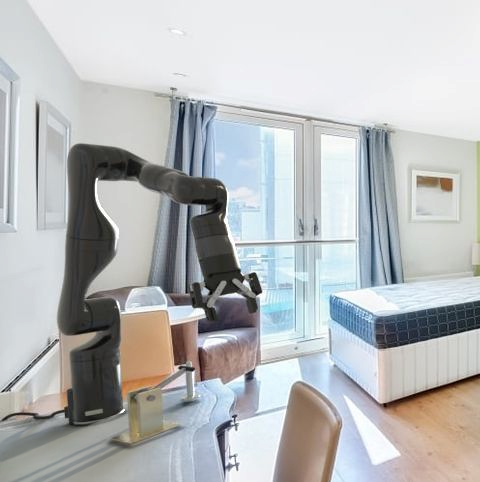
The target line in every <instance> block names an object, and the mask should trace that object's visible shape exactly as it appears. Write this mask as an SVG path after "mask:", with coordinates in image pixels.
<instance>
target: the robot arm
mask: <svg viewBox="0 0 480 482" xmlns="http://www.w3.org/2000/svg"><path fill="white" fill-rule="evenodd" d="M66 175H67V190H68V191H67V192H68V210H67V223H66V224H67V225H66V232H65V243H64V246H65V247H64V267H63V268H64V269H63V278H62V279H63V281H62V284H61V285H62V286H61V290H60V296H59V301H58V305H57V312H56V325H57V329H58V331H59V333H60V334H62V335H63V336H65V337H75V336H82V335H86V334H87V335H88V334H92V333H95V334H94V336H93V337H92V338H90V339H88V340H87V341H86V342H83V343H82V344H80V345H79V344H78V346H76V347H73V348H71V349H70V350H69V353H68V361H69V371H70V373H69V374H70V387H69V388H68V389H67V390H66V403H67V404H66V406H64V407H63V409H60V410H56V411H54V412H52V413H51V414H49V415H41V416H40V414H39V413H38V412H27V411H26V412H25V411H19V412H13V413H9V414H7V415H6V416H4V417H2V419H0V421H1V422H4V421H7V420H8V419H10V418H12V417H18V416H27V417H28V416H29V417H32V419H33V420H49V419H52V418H54V417H55V416H56V415H59V414H64V419H68V425H73V426H86V425H93V424H96V423H100V422H102V421H105V420H108V419H112V418H114V417H118V416H120V415H123V414H124V413H125V408H124V407H125V406H124V395H123V379H122V378H123V377H122V376H123V375H122V363H121V362H122V361H121V345H122V310H121V306H120V303H119V302H118V300H117V299H116V298H114V297H112V296H103V297H94V298H86V297H87V294H88V292H89V288H90V287H91V286H92V283H93V282H94V281H95V280H96V279H97V278H98V276H99V275H100V274H101V273H103V272H104V271H105V269H106V268H107V267H108V266H109V265H110V264H111V263H112V262H113V260H115V258H116V256H117V254H118V248H119V240H120V239H119V236H120V231H119V227H118V226H117V224H116V222H115V221H114V219H113V218H112V217H111V216H110V214H109V213H107V211H106V210H105V209H104V207H103V206H102V204H101V202H100V201H99V198H98V193H97V192H98V191H97V182H100V181H101V182H136V183H138V184H139V185H140V186H141V187H142V188H144V189H146V190H148V191H149V192H152V193H155V194H159V195H161V196H166V197H167V198H168V199H170V200H172V201H173V202H175V203H177V204H180V205H185V206H204V212H203V213H200V214H196V215H194V216H192V217H190V220H189V225H190V229H191V233H192V236H193V240H194V248H195V253H196V257H197V261H198V264H199V268H200V272H201V275H202V277H203V281H201V282H198V281H195V282H191V283H190V284H188V286H187V287H188V292H189V297H190V298H189V299H190V303H191V307H192V308H193V309H201V310H203V311H204V315H205V319H206V321H207V322H208V323H210V324H211V325H212V324H216V323H219V318H218V314H217V311H216V307H214V305H215V303H216V301H217V300H218V299H219V297H223V296H226V295H232V294H233V295H234V294H237V295H240V296H241V297H243V298H244V299H246V300H245V303H246V307H247V308H246V309H247V311H248V314H250V315H251V314H256V313H257V311H258V309H259V306H258V303H257V299H256V298H257V296H259V295H262V294H263V288H262V285H261V283H260V280H259V276H258V273H257V272H255V271H252V272H250V273H247V274H243V273H242V267H241V264H240V263H241V262H240V261H239V259H240V258H239V256H238V253H237V248H236V245H235V242H234V240H233V237H232V235H231V231H230V227H229V224H228V219H227V218H228V217H227V216H228V205H229V204H228V203H229V191H228V188H227V186H226V185H225V183H224V182H223V181H222V180H220V179H218V178H215V177H206V176H190V175H189V174H187V172H184V171H181V170H179V169H175V168H172V167H169V166H166V165H161V164H158V163H154V162H152V161H149V160H147V159H145V158H143V157H141V156H138V155H137V154H135V153H133V152H132V151H130V150H127V149H124V148H122V147H119V146H112V145H102V144H95V143H84V142H79V143H78V142H77V143H75V144H73V145H72V146H70V149H69V151H68V153H67V157H66ZM245 281H246V282H247V283H248V284H249V287H248V286H247V285H245V284H244V282H245ZM204 288H205V289H206V290H208V292H207V294H206V296H205V298H204V299H205V300H203V295H202V294H203V293H202V291H203V290H204Z"/></svg>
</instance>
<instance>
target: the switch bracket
mask: <svg viewBox="0 0 480 482" xmlns="http://www.w3.org/2000/svg"><path fill="white" fill-rule="evenodd" d="M152 388H153V386H152V385H146V386H144V387H140V388H136V389H133V390H129V391H127V392H126V400H127V401H126V402H127V415H128V416H127V418H128V431H127V432H124V433H121V434H118V435H116V436H113V437H110V440H111V441H116V442H118V443H123V444H127V445H134V444H135V443H138V442H141V441H144V440H147V439H149V438H151V437H154V436H157V435H160V434H162V433H165V432H168V431H171V430H172V429H175V428H178V427H180V426H182V424H180V423H176V422H172V421H167V420H164V409H163V392H162V391H163V390H162V389H161V388H155V389H152ZM145 389H149V391H145V392H142V391H143V390H145ZM151 389H152V390H151ZM140 392H142V393H140ZM136 395H137V402H136V400H135V399H134V398H133V397H134V396H136Z"/></svg>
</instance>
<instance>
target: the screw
mask: <svg viewBox="0 0 480 482" xmlns="http://www.w3.org/2000/svg"><path fill="white" fill-rule="evenodd" d="M185 366H189V367H193V363H192V361H190V360H187V361H186V362H185ZM184 374H185V378H184V379H185V386H186V387H185V391H186V394H185V395H182V396H181V397H180V398H179V401H180V402H184V403H186V404H187V403H193V402H195V401H197V400H198V399H199V398H201V397H202V394H201V393H200V392H195V380H194V371H193V372H190V371H187V372H185V373H184Z"/></svg>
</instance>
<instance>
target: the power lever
mask: <svg viewBox="0 0 480 482" xmlns="http://www.w3.org/2000/svg"><path fill="white" fill-rule="evenodd" d="M177 370H178V371H176V372H175V373H173V374H171V375H170V376H169V377H167V378H165V379H164V380H163V381H161V382H160V383H158V384H157V385H156V386H154V387H152V389H155V388H161V390H162V389H163V388H165V387H167V386H168V385H169V384H171V383H172V382H174V381H175V380H177V379H178V378H180V377H181V376H183V375H184V374H185V373H186V372H187V371H190V372H193V373H194V372H195V371H196V367H194V366H192V367H189V366H186V365H179V366H178V367H177ZM152 389H151V390H152ZM145 391H149V389H145V390H143V391H142V392H145ZM142 392H140V393H142ZM133 398H134V399H135V400H136V402H137V395H136V396H134V397H133Z"/></svg>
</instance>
